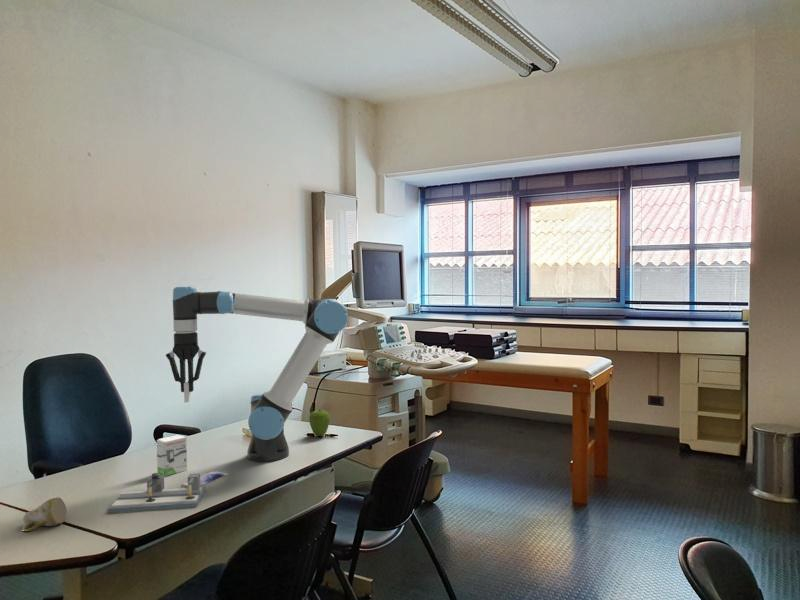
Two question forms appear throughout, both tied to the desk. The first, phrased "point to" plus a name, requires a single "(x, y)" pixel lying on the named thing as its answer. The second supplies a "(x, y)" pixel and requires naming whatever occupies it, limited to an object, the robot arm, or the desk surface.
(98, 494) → the desk surface
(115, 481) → the desk surface
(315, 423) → the apple
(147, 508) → the board
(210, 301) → the robot arm
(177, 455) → the ink box
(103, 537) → the desk surface
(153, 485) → the sliding leg
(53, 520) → the beige tapered chunky piece
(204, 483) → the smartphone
